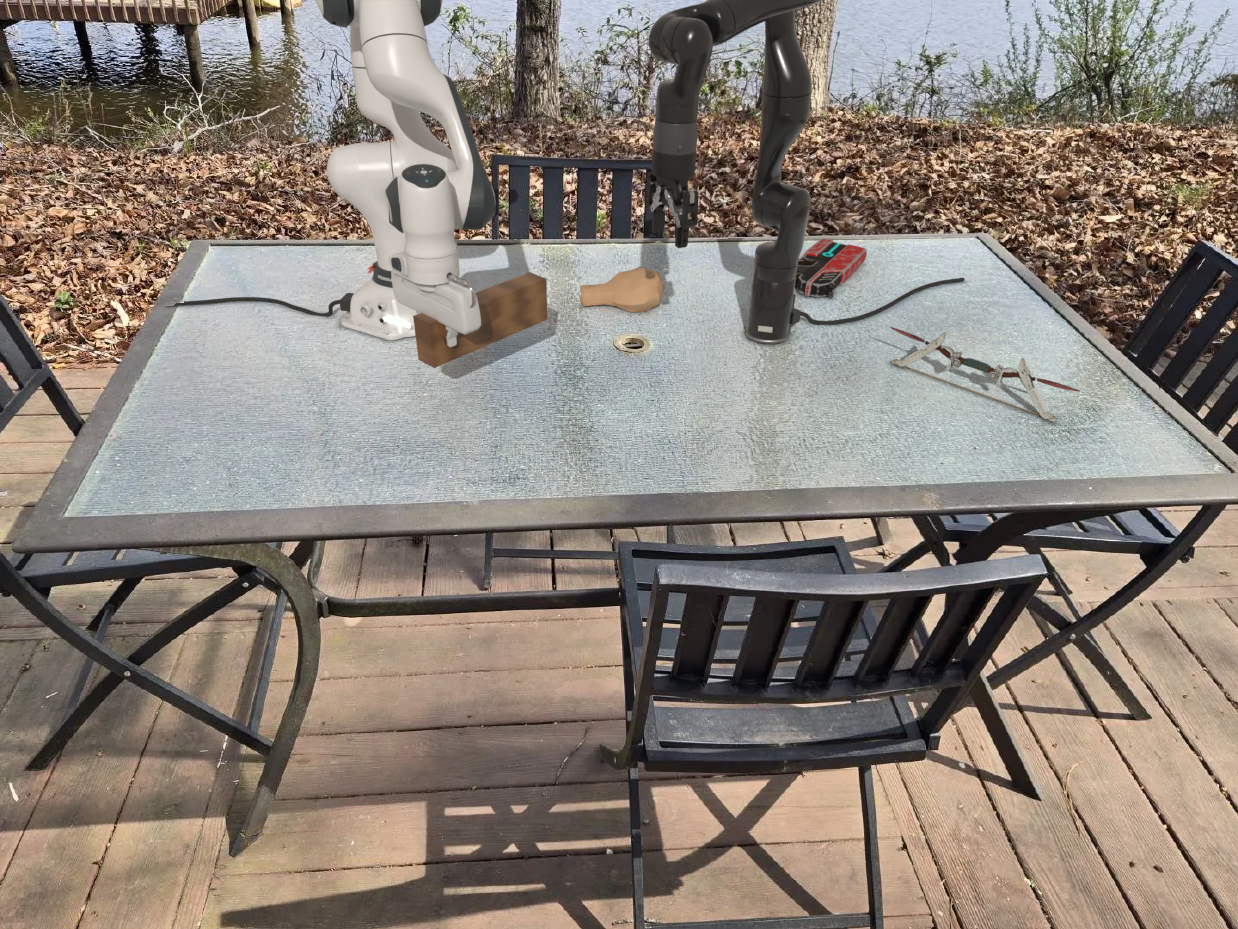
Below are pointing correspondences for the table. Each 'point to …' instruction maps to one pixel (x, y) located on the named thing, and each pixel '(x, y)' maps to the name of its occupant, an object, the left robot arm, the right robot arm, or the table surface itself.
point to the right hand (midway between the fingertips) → (669, 239)
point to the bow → (994, 374)
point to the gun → (827, 267)
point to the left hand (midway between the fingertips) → (439, 339)
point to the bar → (486, 319)
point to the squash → (626, 291)
